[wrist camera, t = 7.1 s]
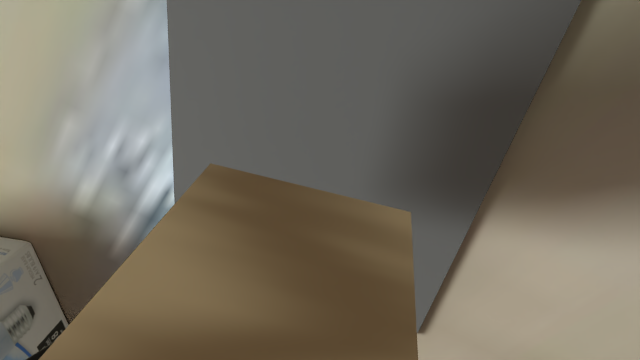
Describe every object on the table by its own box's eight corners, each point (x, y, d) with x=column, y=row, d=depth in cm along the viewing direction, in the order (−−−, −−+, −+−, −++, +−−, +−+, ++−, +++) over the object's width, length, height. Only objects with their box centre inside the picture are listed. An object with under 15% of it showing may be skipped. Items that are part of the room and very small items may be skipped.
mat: (585, -25, 11) (593, -24, 10) (412, 334, 19) (412, 342, 19) (171, -109, 11) (162, -111, 11) (182, 274, 20) (177, 281, 19)
